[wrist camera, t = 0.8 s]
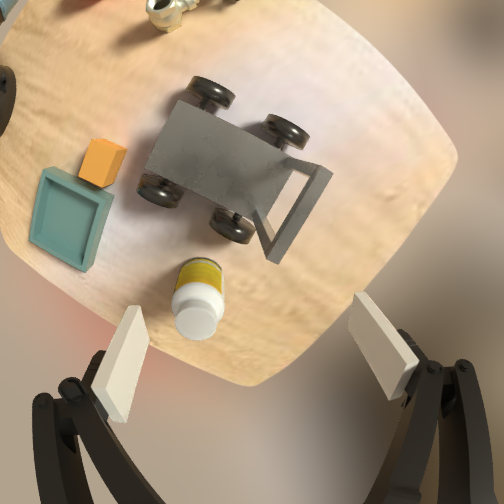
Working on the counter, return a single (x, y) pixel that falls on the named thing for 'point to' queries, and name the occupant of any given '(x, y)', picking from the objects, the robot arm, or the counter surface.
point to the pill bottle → (198, 298)
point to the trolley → (231, 169)
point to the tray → (69, 217)
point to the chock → (102, 162)
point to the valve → (168, 12)
